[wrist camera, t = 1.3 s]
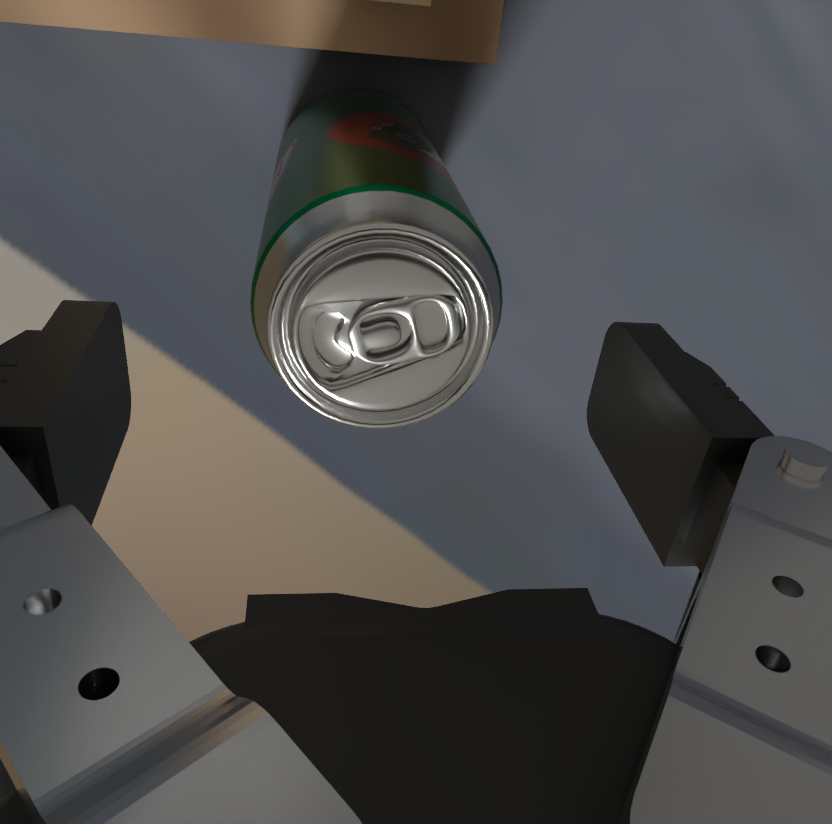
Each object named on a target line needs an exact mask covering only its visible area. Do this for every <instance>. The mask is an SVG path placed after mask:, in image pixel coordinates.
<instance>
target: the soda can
mask: <svg viewBox="0 0 832 824" xmlns="http://www.w3.org/2000/svg"><path fill="white" fill-rule="evenodd" d="M250 304H251V317H252V323H253V327H254V331H255V335H256V339H257V341H258V343H259V345H260V348H261V350H262V352H263V354H264V356H265V358H266V359H267V361H268V362H269V364H270V365H271V367H272V368H273V370H274V371H275V372H276V373H277V374H278V375H279V376H280V377H281V379H282V380H283V381H284V383H285V384H286V386H287V387H288V389H289V390H290V391H291V392H292V393H293V394H294V395H295V396H296V397H297V398H298V399H299V400H300V401H301V402H302V403H304V404H305V405H306V406H307V407H309V408H310V409H311V410H313V411H315V412H316V413H318V414H320V415H322V416H323V417H325V418H328V419H330V420H333V421H335V422H338V423H340V424H344V425H348V426H352V427H357V428H366V429H390V428H397V427H403V426H407V425H411V424H414V423H418V422H421V421H423V420H425V419H428V418H430V417H432V416H434V415H436V414H438V413H440V412H441V411H443V410H444V409H446V408H448V407H449V406H451V405H452V404H453V403H454V402H455V401H457V400H458V399H459V398H460V397H461V396H462V395H463V394H464V393H465V392H466V391H467V390H468V389H469V388H470V387H471V386H472V384H473V383H474V381H475V380H476V378H477V377H478V376H479V374H480V373H481V371H482V369H483V367H484V365H485V362H486V360H487V358H488V355H489V352H490V348H491V345H492V343H493V341H494V339H495V337H496V333H497V330H498V326H499V323H500V319H501V310H502V283H501V279H500V274H499V270H498V266H497V263H496V261H495V258H494V256H493V253H492V251H491V249H490V247H489V245H488V243H487V241H486V240H485V238H484V236H483V234H482V232H481V231H480V229H479V227H478V225H477V223H476V222H475V220H474V218H473V216H472V214H471V213H470V211H469V209H468V207H467V205H466V204H465V202H464V200H463V198H462V196H461V195H460V193H459V191H458V189H457V187H456V186H455V184H454V182H453V180H452V178H451V177H450V175H449V173H448V171H447V169H446V168H445V166H444V164H443V162H442V160H441V159H440V157H439V155H438V153H437V151H436V150H435V148H434V146H433V144H432V142H431V141H430V139H429V137H428V135H427V133H426V132H425V130H424V129H423V127H422V125H421V124H420V122H419V121H418V120H417V119H416V118H415V117H414V116H413V114H412V113H411V112H410V111H408V110H407V109H406V108H405V107H404V106H402V105H401V104H399V103H398V102H396V101H394V100H393V99H391V98H389V97H386V96H384V95H381V94H378V93H375V92H370V91H365V90H347V91H340V92H336V93H333V94H329V95H326V96H324V97H322V98H320V99H318V100H316V101H314V102H313V103H311V104H310V105H309V106H307V107H306V108H305V109H303V110H302V111H301V112H300V114H299V115H298V116H297V117H296V118H295V119H294V120H293V122H292V123H291V125H290V126H289V128H288V129H287V131H286V133H285V135H284V137H283V139H282V142H281V145H280V149H279V152H278V157H277V162H276V167H275V172H274V177H273V182H272V187H271V191H270V196H269V201H268V206H267V211H266V216H265V221H264V226H263V231H262V236H261V241H260V246H259V251H258V256H257V261H256V266H255V271H254V276H253V281H252V289H251V300H250Z"/></svg>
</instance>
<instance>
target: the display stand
mask: <svg viewBox="0 0 832 824" xmlns="http://www.w3.org/2000/svg"><path fill="white" fill-rule="evenodd" d="M503 6H504V0H0V21H2V22H13V23H25V24H36V25H47V26H59V27H70V28H82V29H93V30H105V31H116V32H127V33H139V34H150V35H162V36H173V37H184V38H196V39H207V40H219V41H230V42H241V43H253V44H264V45H276V46H287V47H299V48H310V49H321V50H333V51H344V52H356V53H367V54H378V55H390V56H401V57H413V58H424V59H435V60H447V61H458V62H470V63H481V64H492V65H496V58H497V50H498V43H499V36H500V28H501V21H502V13H503Z"/></svg>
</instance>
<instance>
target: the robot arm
mask: <svg viewBox="0 0 832 824" xmlns="http://www.w3.org/2000/svg"><path fill="white" fill-rule="evenodd" d="M130 413H131V391H130V383H129V375H128V367H127V359H126V352H125V344H124V336H123V328H122V320H121V315H120V311H119V308H118V305H117V304H116V303H115V302H99V301H73V300H71V301H70V300H64V301H62V302H61V303H60V305H59V306H58V308H57V309H56V311H55V312H54V313H53V315H52V317H51V318H50V319H49V321H48V322H47V324H46V325H45V327H44V328H43V329H42V331H39V330H26V331H24V332H22V333H21V334H19V335H17V336H15V337H14V338H12V339H10V340H8V341H6V342H5V343H3V344H1V345H0V824H832V452H830V451H828V450H826V449H824V448H822V447H820V446H818V445H815V444H812V443H810V442H807V441H803V440H800V439H795V438H791V437H783V436H774V435H773V434H772V432H771V431H770V430H769V429H768V428H767V427H766V426H765V425H764V424H763V423H762V422H761V421H760V420H759V419H758V417H757V416H756V415H755V414H754V413H753V412H752V411H751V410H750V409H749V408H748V407H747V406H746V405H745V404H744V402H743V401H739V397H738V396H737V395H736V394H735V393H734V392H733V391H732V390H731V388H730V387H726V383H725V382H724V381H723V380H722V379H721V378H720V377H719V376H718V375H717V373H716V372H715V371H714V370H713V369H712V368H711V367H710V366H708V365H706V364H705V363H703V362H701V361H700V360H698V359H696V358H695V357H693V356H691V355H690V354H688V353H686V352H684V351H683V350H682V349H681V348H680V346H679V345H678V344H677V343H676V342H675V341H674V340H673V339H672V338H671V336H670V335H669V334H668V333H667V332H666V331H665V330H664V329H663V328H662V326H660V325H659V324H656V323H629V322H614V323H613V324H611V325H610V327H609V328H608V330H607V332H606V335H605V338H604V342H603V346H602V350H601V354H600V358H599V362H598V365H597V369H596V373H595V377H594V381H593V385H592V389H591V393H590V396H589V401H588V407H587V423H588V429H589V433H590V435H591V437H592V439H593V441H594V443H595V445H596V446H597V448H598V450H599V452H600V454H601V455H602V457H603V459H604V461H605V462H606V464H607V466H608V468H609V470H610V471H611V473H612V475H613V477H614V478H615V480H616V482H617V484H618V486H619V487H620V489H621V491H622V493H623V494H624V496H625V498H626V500H627V502H628V503H629V505H630V507H631V509H632V511H633V512H634V514H635V516H636V518H637V519H638V521H639V523H640V525H641V527H642V528H643V530H644V532H645V534H646V535H647V537H648V539H649V541H650V543H651V544H652V546H653V548H654V550H655V551H656V553H657V555H658V557H659V559H660V560H661V562H662V564H663V566H697V567H698V569H699V570H700V571H699V574H698V576H697V578H696V581H695V583H694V586H693V588H692V591H691V594H690V596H689V599H688V602H687V604H686V607H685V610H684V613H683V615H682V618H681V621H680V624H679V626H678V629H677V632H676V634H675V637H674V640H673V642H671V641H670V640H668V639H666V638H665V637H663V636H661V635H658V634H656V633H654V632H652V631H650V630H648V629H646V628H643V627H641V626H638V625H635V624H633V623H630V622H627V621H624V620H621V619H617V618H614V617H610V616H606V615H601V614H598V612H597V610H596V608H595V605H594V603H593V600H592V598H591V596H590V593H589V591H588V589H587V588H564V589H514V590H505V591H500V592H496V593H492V594H488V595H484V596H480V597H476V598H471V599H467V600H463V601H459V602H455V603H450V604H446V605H442V606H438V607H433V608H418V607H412V606H406V605H400V604H395V603H389V602H383V601H378V600H372V599H366V598H360V597H355V596H350V595H344V594H338V593H316V594H315V593H314V594H264V595H248V598H247V610H246V619H245V622H243V623H239V624H235V625H231V626H228V627H225V628H222V629H219V630H216V631H213V632H210V633H208V634H206V635H203V636H201V637H199V638H197V639H195V640H193V641H190V642H188V641H187V640H186V638H185V637H184V636H183V635H182V634H181V633H180V631H179V630H178V629H177V628H176V626H175V625H174V624H173V623H172V622H171V620H170V619H169V618H168V617H167V616H166V614H165V613H164V612H163V611H162V610H161V608H160V607H159V606H158V605H157V604H156V602H155V601H154V600H153V599H152V598H151V596H150V595H149V594H148V593H147V592H146V590H145V589H144V588H143V587H142V586H141V585H140V583H139V582H138V581H137V580H136V578H135V577H134V576H133V575H132V574H131V572H130V571H129V570H128V569H127V568H126V566H125V565H124V564H123V563H122V562H121V561H120V559H119V558H118V557H117V556H116V554H115V553H114V552H113V551H112V550H111V548H110V547H109V546H108V545H107V544H106V543H105V541H104V540H103V539H102V538H101V537H100V535H99V534H98V533H97V532H96V531H95V529H94V528H93V527H92V523H93V520H94V518H95V515H96V512H97V510H98V507H99V504H100V502H101V499H102V496H103V494H104V491H105V488H106V486H107V483H108V480H109V478H110V475H111V472H112V470H113V467H114V464H115V462H116V459H117V456H118V454H119V451H120V448H121V446H122V443H123V440H124V438H125V435H126V432H127V430H128V426H129V421H130Z"/></svg>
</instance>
